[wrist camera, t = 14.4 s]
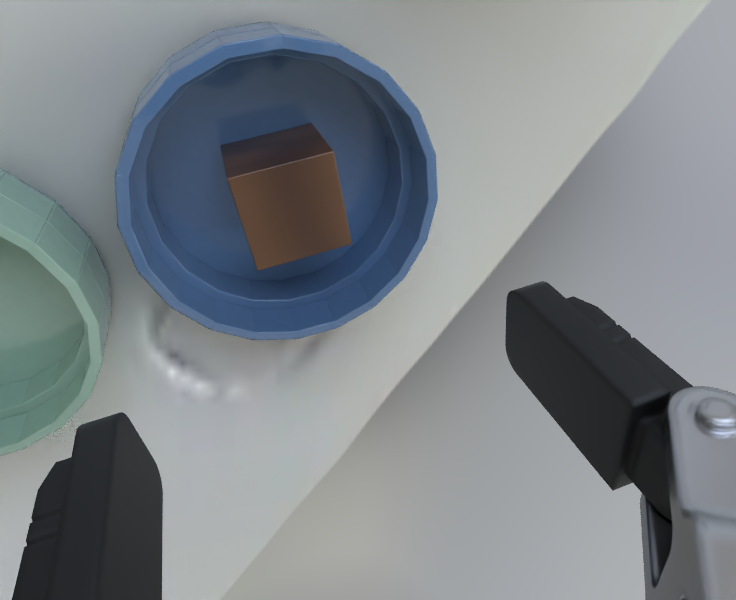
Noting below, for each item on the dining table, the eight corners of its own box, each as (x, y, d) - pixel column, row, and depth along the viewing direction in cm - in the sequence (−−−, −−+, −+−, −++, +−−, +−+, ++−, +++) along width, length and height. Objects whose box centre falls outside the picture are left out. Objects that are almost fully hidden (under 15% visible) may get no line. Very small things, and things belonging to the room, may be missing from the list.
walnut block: (247, 229, 28) (257, 271, 24) (219, 145, 25) (226, 178, 21) (330, 206, 28) (352, 244, 25) (311, 122, 26) (334, 150, 22)
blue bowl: (132, 288, 28) (124, 343, 24) (118, -8, 21) (104, 2, 17) (374, 290, 33) (401, 337, 29) (427, 50, 26) (473, 68, 22)
